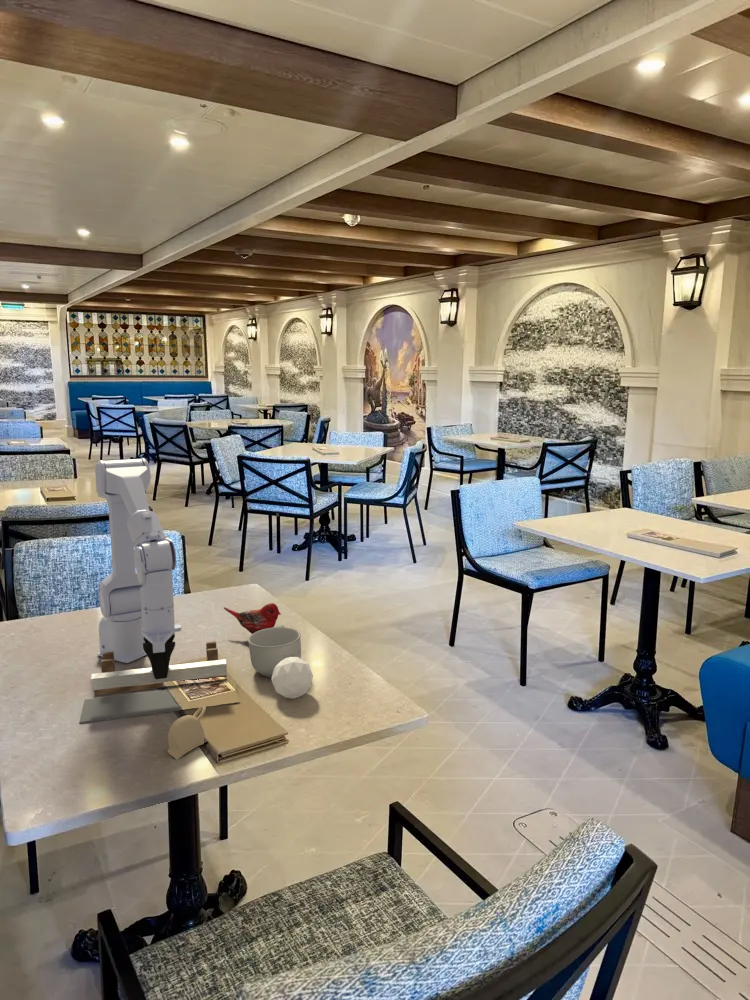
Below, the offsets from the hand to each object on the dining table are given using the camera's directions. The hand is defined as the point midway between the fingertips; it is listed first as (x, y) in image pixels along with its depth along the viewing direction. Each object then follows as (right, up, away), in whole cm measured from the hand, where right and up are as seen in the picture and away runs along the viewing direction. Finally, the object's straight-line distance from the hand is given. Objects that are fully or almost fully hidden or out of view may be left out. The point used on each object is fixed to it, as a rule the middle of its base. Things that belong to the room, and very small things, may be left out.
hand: (160, 674), depth 129 cm
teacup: (+20, -3, +17) cm, 26 cm away
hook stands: (-3, -4, +10) cm, 11 cm away
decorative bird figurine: (+11, 0, +32) cm, 34 cm away
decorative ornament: (+9, -8, -14) cm, 19 cm away
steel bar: (0, -1, 0) cm, 1 cm away
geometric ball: (+24, -5, +4) cm, 25 cm away
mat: (0, -5, +1) cm, 6 cm away
